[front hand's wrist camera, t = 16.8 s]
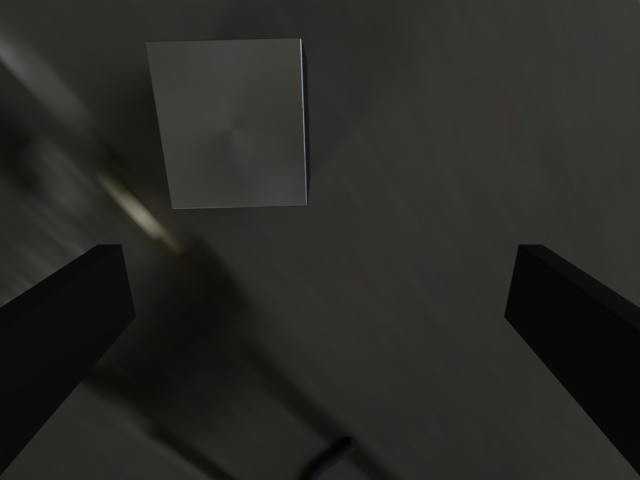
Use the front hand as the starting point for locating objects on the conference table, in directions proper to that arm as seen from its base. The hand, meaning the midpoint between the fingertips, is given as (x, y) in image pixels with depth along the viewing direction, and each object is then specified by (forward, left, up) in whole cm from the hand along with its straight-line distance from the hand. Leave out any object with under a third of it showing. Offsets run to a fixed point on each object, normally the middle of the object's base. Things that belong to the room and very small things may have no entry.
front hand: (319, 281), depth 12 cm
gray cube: (-5, -5, -17) cm, 18 cm away
